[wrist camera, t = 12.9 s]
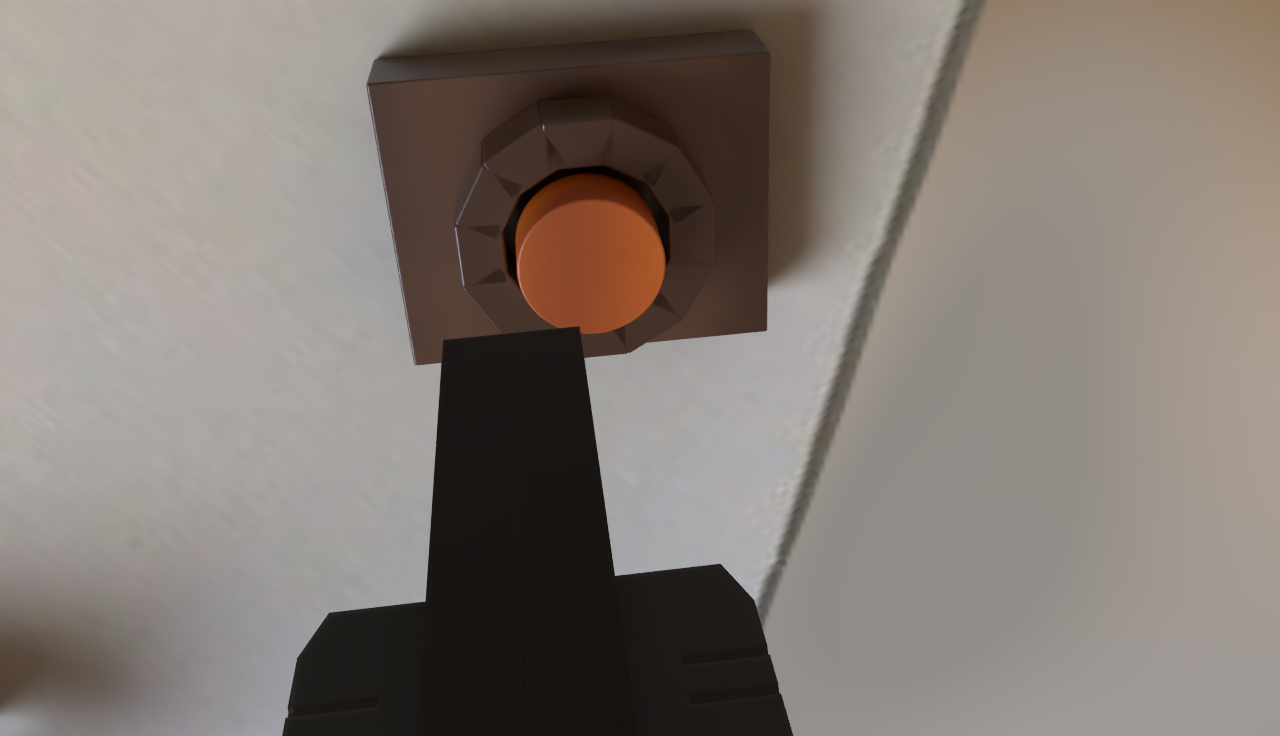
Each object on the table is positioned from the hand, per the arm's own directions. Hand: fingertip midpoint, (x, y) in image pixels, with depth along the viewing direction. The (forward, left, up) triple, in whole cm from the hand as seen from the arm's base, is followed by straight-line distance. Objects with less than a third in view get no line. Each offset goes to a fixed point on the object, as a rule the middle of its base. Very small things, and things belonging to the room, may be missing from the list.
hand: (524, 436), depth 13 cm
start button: (-2, +5, -16) cm, 17 cm away
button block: (-2, +5, -19) cm, 20 cm away
